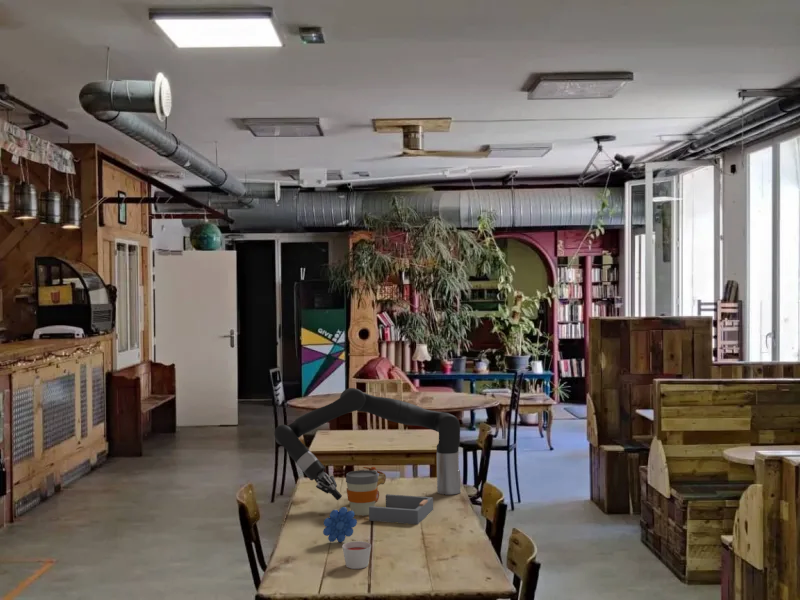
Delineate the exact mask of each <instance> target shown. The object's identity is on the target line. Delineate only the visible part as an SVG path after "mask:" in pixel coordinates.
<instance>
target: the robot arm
mask: <svg viewBox="0 0 800 600" xmlns="http://www.w3.org/2000/svg"><path fill="white" fill-rule="evenodd" d="M352 412H363V413H367V414H371V415H374V416H376V417H379V418H381V419H384V420H387V421H389V422H394V423H397V424H400V425H405V426H415V427H417V426H418V427H424V428H426V429H430V430H433V431H434V432H437V433H438V443H437V445H436V485H437V486H436V489H437V494H440V495H444V494H445V495H447V496H449V495H450V496H452V495H457V494H461V493H462V492H461V490H462V489H461V470H460V469H459V468H460V466H459V463H460V461H459V459H460V458H459V453H460V452H459V447H460V446H461V444H460V443H461V424H460V420H459V418H457V416H455V415H453V414H451V413H449V412H443V411H437V410H436V411H435V410H429V409H425V408H423V407H421V406H418V405H416V404H414V403H410V402H407V401H404V400H400V399H395V398H391V397H382V396H375V395H371V394H369V393H366V392H363V391H362V390H360V389H359V388H355V387H349V388H346V389H344V390H343V392H342V393H341V394H340V397H339V398H338V399H336V400H334V401H333V402H331V403H329V404H325V405H324V406H321V407H318V408H316V409H313V410H311V411H309V412H306V413H305V414H303V415H301V416H298V417H297V418H296V419H294V421H293V422H292V423H290V424H287V425H286V424H280V425H278V426H276V427H275V429H274V433H273V434H274V435H273V436H274V440H275V442H276V444H278V445H280V446H282V447H283V448H284V449H285V450H286V451H287V453H288V455H289V456H290V458H291V460H292V461H294V462H295V463H296V465H297V466H298V468H299V469H300V470H301V472H303V473H304V475H305V476H306V477H307V478H308V479H309V480H310V481H315V483H317V484H316V486H315V487H316V488H317V489H318V490H320V491H322V492H324V493H325V494H327V495H328V494H331V495H332V497H333V498H334V500H336V501H339V500H340V499H341V498H342V496H343V495H342V494H341V493H340V492H339V490H337V487H338V484H337V482H336V480H335V476H334V475H331V476H330V475H329V474H328V473H327V472H325V469H326V467H325V465H324V464H323V463H322V462H321V461H320V460H319V458H317V457H316V455H315V453H312V452H311V451H310V449H308V447H307V446H306V445H305V444H304V443H303V442H302V441H301V440H300V439H299V438H301V437H302V436H303V435H305V434H307V433H310V432H312V431H314V430H316V429H317V428H319V427H321V426H324V425H325V424H326V423H328V422H330V421H333V420H335V419H337V418H339V417H342V416H344V415H346V414H349V413H352Z"/></svg>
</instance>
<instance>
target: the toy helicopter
mask: <svg viewBox="0 0 800 600" xmlns="http://www.w3.org/2000/svg"><path fill="white" fill-rule="evenodd" d="M362 468H364V469H367V470H368V471H375V472H377V474H378V482H377V487H378V486H379V485H385V483H386V479H387V475H386V474H385V473H384V472H382V471H381V470H377V468H376V467H375V466H371V467H368V466H367V467H366V466H363V467H362ZM379 498H380V492H379V490H378V489H377V499H376V500H375V503H377V502H378V501H379Z"/></svg>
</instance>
